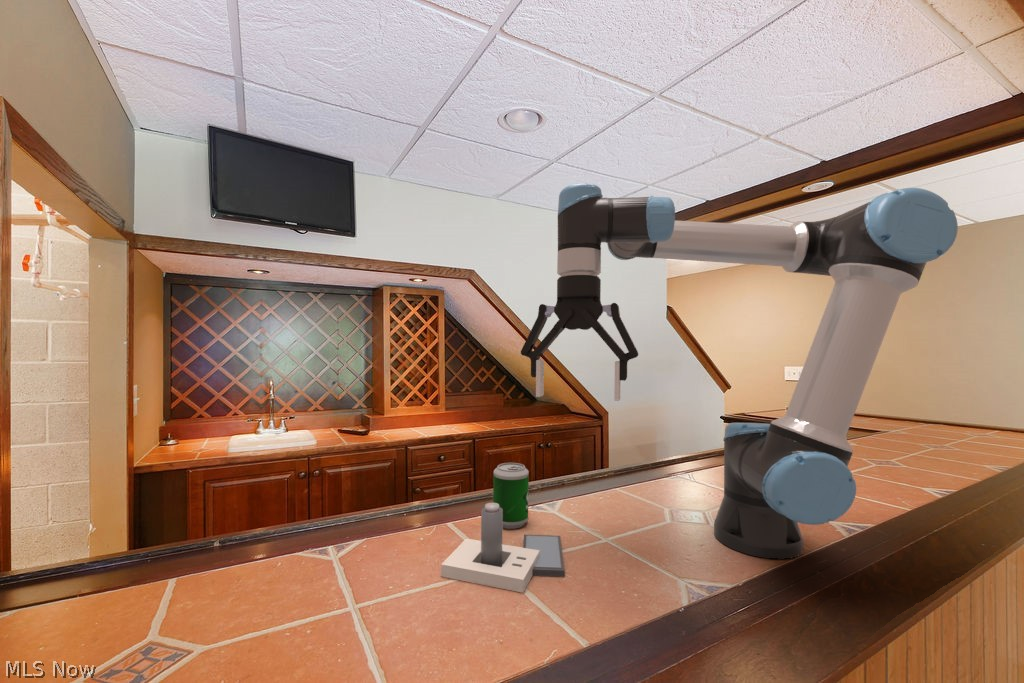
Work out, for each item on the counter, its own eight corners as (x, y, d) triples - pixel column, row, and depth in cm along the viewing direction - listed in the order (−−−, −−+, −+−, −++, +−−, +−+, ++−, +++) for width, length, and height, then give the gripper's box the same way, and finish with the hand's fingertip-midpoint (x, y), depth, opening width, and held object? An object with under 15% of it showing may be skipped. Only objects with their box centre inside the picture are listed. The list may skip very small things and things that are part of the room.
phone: (560, 540, 85) (560, 535, 85) (564, 576, 72) (564, 570, 72) (523, 539, 85) (524, 534, 85) (521, 575, 72) (521, 568, 72)
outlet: (539, 561, 77) (539, 549, 77) (523, 592, 67) (523, 579, 67) (466, 549, 81) (466, 537, 81) (440, 576, 72) (441, 563, 72)
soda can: (525, 532, 89) (525, 472, 89) (488, 528, 90) (489, 470, 90) (530, 517, 96) (531, 462, 96) (497, 514, 97) (498, 460, 98)
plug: (504, 565, 75) (505, 502, 75) (497, 576, 72) (498, 510, 72) (485, 562, 76) (486, 500, 76) (477, 572, 73) (478, 507, 73)
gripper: (653, 277, 76) (652, 398, 76) (517, 281, 84) (516, 392, 84) (653, 270, 69) (652, 404, 69) (504, 276, 77) (503, 396, 77)
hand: (577, 398), depth 77 cm, fingers open, 13 cm apart
